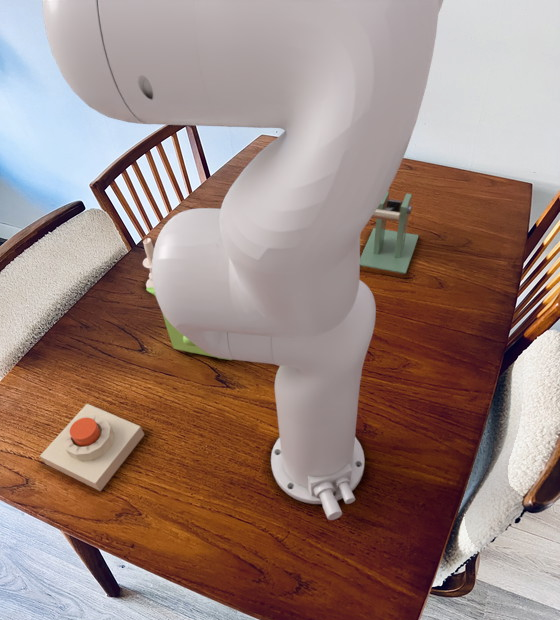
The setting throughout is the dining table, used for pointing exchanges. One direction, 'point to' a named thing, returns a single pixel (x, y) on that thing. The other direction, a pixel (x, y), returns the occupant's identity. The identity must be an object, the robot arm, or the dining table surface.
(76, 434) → the red short cylinder
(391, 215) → the switch lever
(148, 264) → the candle
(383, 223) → the stand
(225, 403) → the dining table surface
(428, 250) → the dining table surface
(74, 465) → the beige square piece
